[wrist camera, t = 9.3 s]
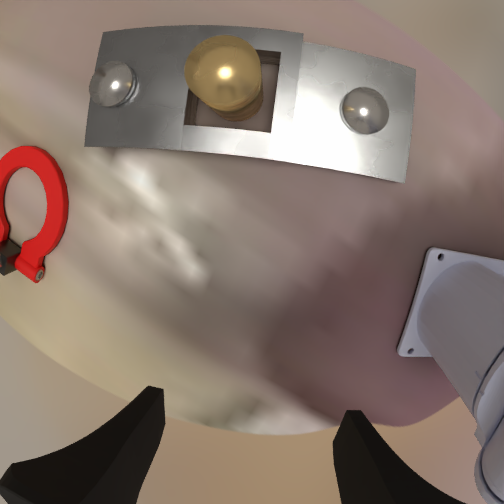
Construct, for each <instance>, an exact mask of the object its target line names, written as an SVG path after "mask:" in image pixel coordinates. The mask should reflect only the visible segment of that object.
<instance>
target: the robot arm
mask: <svg viewBox="0 0 504 504" xmlns="http://www.w3.org/2000/svg"><path fill="white" fill-rule="evenodd" d="M439 254H441V258H440V259H438V255H439ZM410 348H412V349H411V350H410V351H408V350H409V349H410ZM397 352H398V354H399V355H400V356H402V357H433V358H434V360H435V361H436V362H437V364H438V365H439V367H440V368H441V369H442V371H443V372H444V374H445V375H446V377H447V378H448V379H449V381H450V382H451V384H452V385H453V387H454V388H455V390H456V391H457V393H458V394H459V396H460V397H461V398H462V400H463V402H464V403H465V405H466V406H467V408H468V409H469V410H470V412H471V414H472V415H473V417H474V418H475V420H476V422H477V429H476V432H475V434H474V435H475V436H476V438H477V440H478V441H479V443H480V445H481V446H482V449H481V451H480V452H479V454H478V457H477V459H476V463H475V470H474V476H475V482H476V485H477V488H478V491H479V493H480V494H481V496H482V497H483V499H484V500H485V501H486V502H487V503H488V504H504V260H500V259H494V258H489V257H484V256H479V255H474V254H468V253H463V252H458V251H452V250H447V249H441V248H436V247H432V248H430V249H429V250H428V251H427V254H426V257H425V261H424V265H423V269H422V273H421V276H420V280H419V284H418V287H417V291H416V294H415V297H414V301H413V304H412V307H411V310H410V313H409V316H408V319H407V322H406V325H405V328H404V331H403V334H402V337H401V340H400V343H399V345H398V348H397ZM164 426H165V409H164V390H163V389H161V388H157V387H152V386H148V387H146V388H145V389H144V390H143V391H142V392H141V393H140V394H139V395H138V396H137V397H136V398H135V399H134V400H133V401H131V402H130V403H129V404H128V405H127V406H126V407H125V408H124V409H122V410H121V411H120V412H119V413H118V414H117V415H115V416H114V417H113V418H112V419H110V420H109V421H108V422H106V423H105V424H104V425H102V426H101V427H100V428H98V429H97V430H95V431H94V432H92V433H91V434H89V435H88V436H86V437H84V438H83V439H81V440H79V441H77V442H75V443H73V444H71V445H69V446H67V447H65V448H63V449H60V450H58V451H55V452H52V453H50V454H47V455H44V456H41V457H38V458H35V459H31V460H26V461H22V462H17V463H12V464H11V466H10V467H9V468H8V469H7V471H6V472H5V473H4V475H3V477H2V478H1V479H0V495H1V496H2V497H3V498H4V499H5V501H6V502H7V503H8V504H136V502H137V498H138V495H139V492H140V489H141V487H142V484H143V482H144V479H145V477H146V474H147V472H148V470H149V468H150V465H151V463H152V461H153V458H154V456H155V454H156V451H157V449H158V447H159V444H160V441H161V437H162V434H163V430H164ZM333 457H334V467H335V472H336V477H337V482H338V487H339V493H340V498H341V503H342V504H466V503H463V502H461V501H459V500H456V499H454V498H453V497H451V496H449V495H447V494H445V493H444V492H442V491H440V490H438V489H437V488H435V487H434V486H432V485H431V484H429V483H428V482H427V481H425V480H424V479H423V478H422V477H420V476H419V475H418V474H417V473H416V472H414V471H413V470H412V469H411V468H410V467H409V466H408V465H406V464H405V463H404V462H403V461H402V460H401V458H399V456H398V455H397V454H395V452H394V451H393V450H392V449H391V448H390V447H389V445H388V444H387V443H386V442H385V441H384V440H383V438H382V437H381V436H380V435H379V433H378V432H377V431H376V429H375V428H374V427H373V426H372V424H371V423H370V422H369V420H368V419H367V418H366V416H365V415H364V414H363V413H362V411H361V410H347V411H346V413H345V415H344V418H343V420H342V422H341V425H340V427H339V429H338V432H337V434H336V436H335V439H334V440H333Z"/></svg>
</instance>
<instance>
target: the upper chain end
mask: <svg viewBox="0 0 504 504" xmlns="http://www.w3.org/2000/svg"><path fill="white" fill-rule="evenodd" d="M220 35H230V36H235V37H239V38H241V39H243V40H245V41H247V42H248V43H249V44H250V45H251V46H253V48H254V49H255V50H256V52H257V54H258V56H259V57H268V58H277V59H280V66H279V74H278V82H277V90H276V98H275V106H274V114H273V121H272V129H271V133H266V132H257V131H249V130H239V129H229V128H218V127H206V126H191V125H189V123H190V116H191V108H192V101H193V94H194V93H193V92H192V91H191V90H190V88H189V87H188V85H187V83H186V80H185V75H184V69H185V63H186V60H187V58H188V56H189V54H190V53H191V51H192V50H193V49H194V48H195V47H196V46H197V45H198V44H199V43H201V42H202V41H204V40H206V39H208V38H211V37H214V36H220ZM302 43H303V33H296V32H289V31H282V30H273V29H264V28H252V27H238V26H214V25H183V26H159V27H145V28H134V29H124V30H116V31H109V32H103V35H102V40H101V44H100V48H99V53H98V58H97V63H96V68H95V73H94V75H93V76H92V79H91V81H90V86H89V91H90V103H89V110H88V118H87V126H86V135H85V145H84V147H122V148H147V149H166V150H183V151H196V152H208V153H218V154H228V155H237V156H246V157H255V158H263V159H270V160H278V161H285V162H288V158H289V150H290V143H291V135H292V127H293V119H294V111H295V103H296V95H297V87H298V78H299V70H300V61H301V52H302Z"/></svg>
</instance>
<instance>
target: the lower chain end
mask: <svg viewBox="0 0 504 504" xmlns="http://www.w3.org/2000/svg"><path fill="white" fill-rule="evenodd" d="M259 59H260V63H266V64H274V65H280V59H277V58H268V57H259ZM415 77H416V69H413V68H410V67H407V66H404V65H401V64H398V63H395V62H391V61H388V60H384V59H381V58H377V57H373V56H370V55H366V54H362V53H358V52H353V51H349V50H345V49H340V48H335V47H330V46H325V45H320V44H314V43H308V42H303V43H302V52H301V61H300V70H299V78H298V87H297V95H296V103H295V111H294V119H293V127H292V135H291V143H290V150H289V158H288V162H291V163H297V164H304V165H310V166H316V167H322V168H328V169H334V170H340V171H345V172H350V173H356V174H361V175H366V176H371V177H376V178H380V179H385V180H390V181H394V182H399V183H404V184H405V178H406V171H407V164H408V156H409V149H410V140H411V131H412V121H413V109H414V95H415ZM197 103H198V97H197V96H196V95H195V94H193V101H192V108H191V116H190V123H189V125H191V126H195V118H196V110H197ZM181 151H183V150H181ZM194 152H196V151H194ZM206 153H208V152H206ZM216 154H218V153H216ZM226 155H228V154H226ZM236 156H237V155H236ZM245 157H246V156H245ZM253 158H255V157H253ZM261 159H263V158H261ZM269 160H270V159H269ZM277 161H278V160H277ZM284 162H285V161H284Z"/></svg>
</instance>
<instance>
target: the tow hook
mask: <svg viewBox="0 0 504 504" xmlns="http://www.w3.org/2000/svg"><path fill="white" fill-rule="evenodd" d="M22 167H28V168H30V169H32V170H33V171H34V172H35V173H36V174H37V175H38V176H39V177H40V179H41V181H42V183H43V185H44V189H45V192H46V198H47V215H46V219H45V223H44V225H43V227H42V229H41V231H40V233H39V234H38V235H37V236H36V237H35V238H33V239H31V240H27V241H24V243H23V244H22V249H20V248H19V247H18V246H16V245H15V244H14V243H12V242H11V241H10V240H8V239H7V236H8V231H9V225H8V223H7V221H6V217H5V214H4V207H3V196H4V191H5V187H6V184H7V182H8V180H9V178H10V177H11V175H12V174H13V173H14V172H15V171H16V170H18V169H19V168H22ZM67 214H68V195H67V186H66V183H65V180H64V177H63V173H62V171H61V169H60V168H59V166H58V164H57V162H56V161H55V159H54V158H53V157H52V156H51V155H50V154H49V153H48V152H46V151H45V150H43V149H40V148H38V147H34V146H20V147H17V148H15V149H12V150H11V151H9V152H8V153H7V154H6V155H4V156H3V157H2V159H1V160H0V273H1V274H2V275H3V276H4V275H6V274H8V273H11V272H13V271H15V270H19V271H20V272H21V273H22V274H24V275H25V276H26V277H28V278H29V279H30V280H32V281H33V282H35V283H38V282H39V281H40V280H41V279H42V277H43V275H44V272H45V269H44V267H43V266H42V262H43V258H44V256H45V255H47V254H49V253H50V252H51V251H52V250H53V249H54V248H55V247H56V246H57V244H58V242H59V240H60V238H61V237H62V235H63V232H64V229H65V225H66V221H67Z"/></svg>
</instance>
